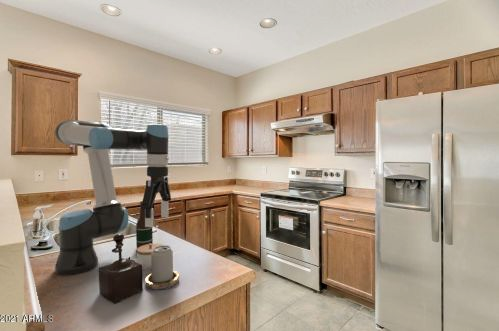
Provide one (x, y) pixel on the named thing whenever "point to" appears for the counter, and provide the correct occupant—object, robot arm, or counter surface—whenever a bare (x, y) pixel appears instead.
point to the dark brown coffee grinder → (120, 276)
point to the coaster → (161, 286)
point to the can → (162, 264)
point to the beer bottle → (143, 231)
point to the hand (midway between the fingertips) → (157, 221)
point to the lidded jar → (146, 254)
